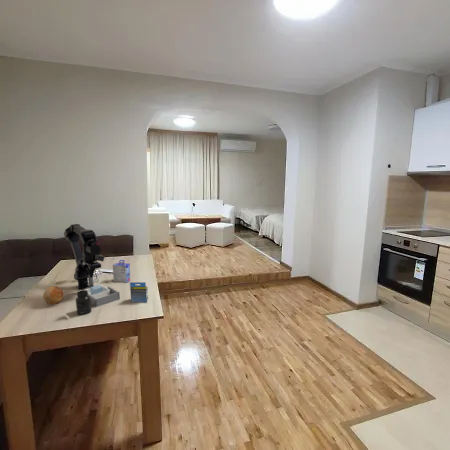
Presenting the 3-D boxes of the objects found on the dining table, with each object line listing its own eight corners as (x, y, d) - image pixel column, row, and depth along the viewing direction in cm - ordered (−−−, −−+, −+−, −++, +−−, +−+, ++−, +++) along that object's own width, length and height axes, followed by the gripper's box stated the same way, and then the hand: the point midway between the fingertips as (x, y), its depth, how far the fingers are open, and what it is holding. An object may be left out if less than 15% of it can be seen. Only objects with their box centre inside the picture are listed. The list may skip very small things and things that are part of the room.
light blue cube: (90, 295, 164) (90, 287, 163) (99, 292, 168) (98, 285, 167) (94, 298, 161) (93, 289, 160) (103, 295, 164) (102, 287, 164)
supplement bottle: (80, 310, 148) (78, 289, 146) (93, 310, 148) (92, 288, 146) (74, 317, 141) (72, 294, 139) (88, 316, 142) (86, 294, 140)
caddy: (81, 295, 166) (79, 276, 164) (100, 289, 174) (99, 271, 172) (91, 302, 157) (89, 282, 155) (110, 296, 165) (109, 277, 163)
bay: (86, 301, 158) (85, 293, 158) (109, 294, 168) (109, 286, 167) (95, 308, 150) (95, 300, 149) (119, 300, 160) (119, 292, 159)
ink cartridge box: (131, 280, 190) (129, 259, 188) (126, 283, 185) (125, 262, 182) (117, 279, 192) (116, 259, 190) (113, 282, 187) (111, 261, 184)
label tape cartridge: (148, 300, 161) (147, 279, 159) (146, 303, 157) (145, 282, 155) (132, 300, 161) (131, 279, 158) (130, 303, 157) (129, 282, 155)
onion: (40, 308, 150) (38, 290, 148) (48, 300, 160) (46, 283, 158) (60, 306, 152) (58, 289, 150) (67, 299, 161) (65, 282, 160)
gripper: (109, 252, 164) (110, 277, 167) (95, 246, 177) (97, 269, 180) (89, 255, 156) (91, 282, 159) (77, 249, 169) (79, 274, 172)
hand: (90, 276), depth 167 cm, fingers closed on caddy, 2 cm apart
